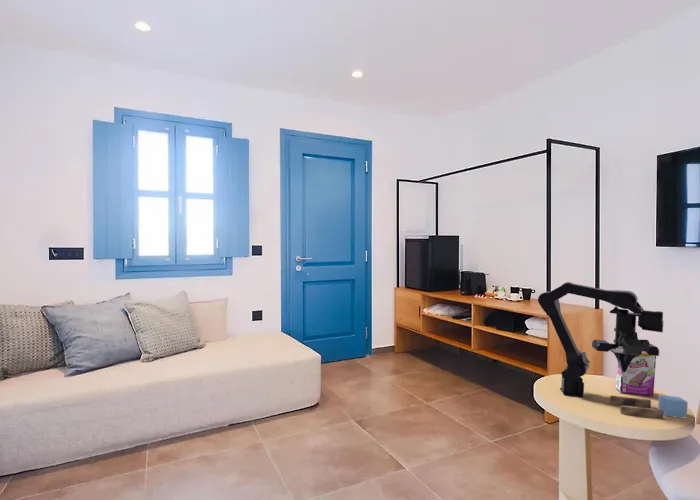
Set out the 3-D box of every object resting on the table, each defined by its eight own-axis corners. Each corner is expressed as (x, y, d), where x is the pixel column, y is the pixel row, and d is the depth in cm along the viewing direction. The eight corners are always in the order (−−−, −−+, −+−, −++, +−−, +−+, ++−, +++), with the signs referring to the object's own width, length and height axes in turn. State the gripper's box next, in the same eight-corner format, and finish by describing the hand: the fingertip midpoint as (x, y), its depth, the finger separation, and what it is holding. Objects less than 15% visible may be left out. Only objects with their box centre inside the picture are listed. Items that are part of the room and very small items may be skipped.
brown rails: (621, 413, 132) (621, 406, 132) (610, 402, 141) (610, 395, 141) (663, 418, 129) (663, 411, 129) (648, 406, 138) (649, 399, 138)
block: (665, 416, 131) (666, 400, 131) (658, 410, 136) (659, 394, 135) (686, 418, 130) (687, 402, 130) (678, 412, 134) (679, 396, 134)
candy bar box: (620, 393, 150) (622, 350, 149) (615, 388, 155) (617, 347, 154) (654, 396, 147) (657, 353, 147) (647, 391, 152) (650, 349, 152)
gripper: (604, 330, 132) (602, 376, 133) (669, 335, 128) (666, 382, 128) (592, 323, 143) (590, 366, 144) (651, 327, 139) (649, 371, 139)
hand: (623, 371), depth 138 cm, fingers closed
